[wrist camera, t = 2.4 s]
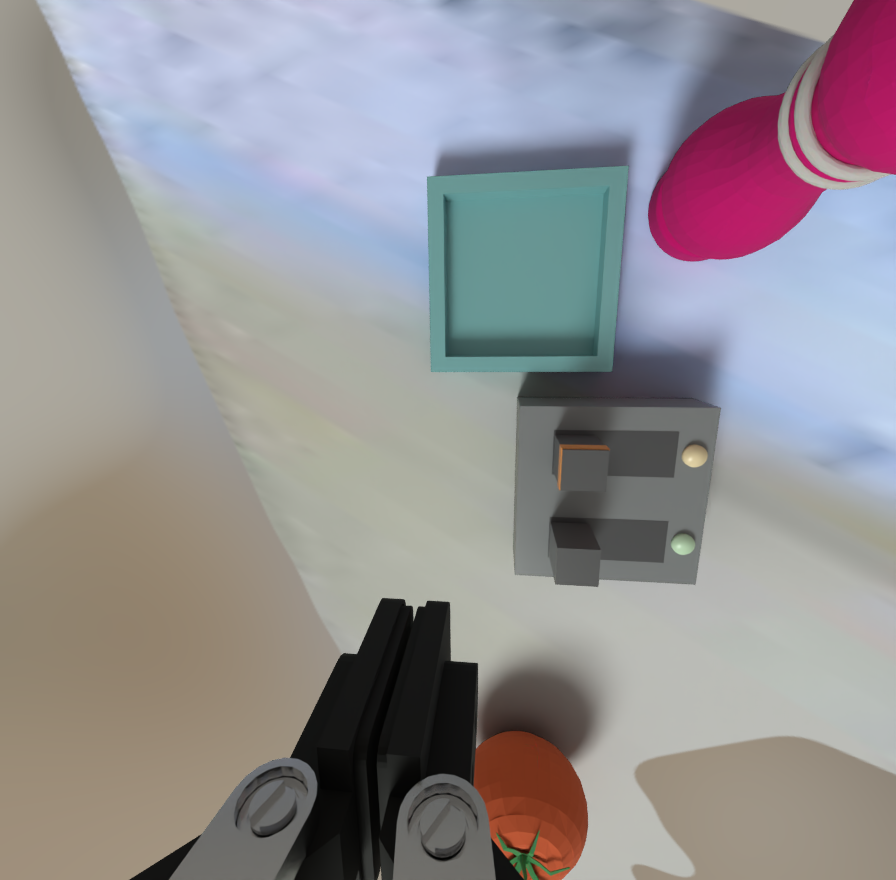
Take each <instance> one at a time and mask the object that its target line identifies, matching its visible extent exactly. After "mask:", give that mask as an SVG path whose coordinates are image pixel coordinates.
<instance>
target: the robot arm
mask: <svg viewBox="0 0 896 880" xmlns="http://www.w3.org/2000/svg"><path fill="white" fill-rule="evenodd" d="M477 706H478V663H468V662H454V661H451V647H450V603H449V602H441V601H427V603H426V606H425V607H420V606H419V607H418V609H417V612H416V616H415V619H414V622H413V607H412V606H406V603H405V600H404V599H389V598H382V599H381V601H380V603H379V605H378V608H377V610H376V612H375V615H374V617H373V619H372V621H371V624H370V626H369V628H368V630H367V633H366V635H365V637H364V640H363V642H362V644H361V646H360V649H359V651H358V653H357V654H346V653H344V654H342V655H341V656H340V658H339V659H338V661H337V663H336V665H335V667H334V669H333V671H332V673H331V675H330V677H329V679H328V681H327V684H326V686H325V688H324V690H323V692H322V694H321V696H320V698H319V700H318V702H317V704H316V706H315V708H314V710H313V712H312V714H311V716H310V718H309V720H308V722H307V724H306V726H305V728H304V731H303V732H302V735H301V737H300V739H299V741H298V743H297V745H296V747H295V749H294V751H293V753H292V755H291V757H290V758H282V759H277V760H272V761H270V762H268V763H266V764H263V765H261V766H259V767H258V768H256V769H255V770H254V771H253V772H251V773H250V774H248V775H247V776H246V777H245V778H244V779H243V780H242V781H241V782H240V784H239V785H238V786H237V787H236V788H235V789H234V791H233V792H232V793H231V795H230V796H229V798H228V799H227V800H226V802H225V803H224V805H223V806H222V807H221V809H220V810H219V811H218V813H217V814H216V816H215V817H214V818H213V820H212V821H211V822H210V824H209V825H208V826H207V828H206V829H205V831H204V832H203V833H202V834H201V835H200V836H198V837H196V838H195V839H193V840H192V841H190V842H189V843H187V844H185V845H184V846H182V847H181V848H179V849H177V850H176V851H174V852H173V853H171V854H170V855H168V856H166V857H165V858H163V859H162V860H160V861H158V862H157V863H155V864H154V865H152V866H150V867H149V868H147V869H146V870H144V871H143V872H141V873H139V874H138V875H136V876H135V877H133V878H131V879H130V880H377V879H378V876H379V872H380V867H381V873H382V874H381V876H382V880H524V879H523V878H522V876H521V875H520V874H519V873H518V871H517V870H516V869H515V868H514V866H513V865H512V864H511V862H510V861H509V860H508V859H507V857H506V856H505V855H504V854H503V852H502V851H501V850H500V849H499V847H498V846H497V845H496V843H495V842H494V841H493V840H492V838H491V835H490V826H489V818H488V813H487V810H486V806H485V802H484V801H483V799H482V797H481V796H480V794H479V792H478V791H477V789H476V788H474V771H475V752H476V733H477Z"/></svg>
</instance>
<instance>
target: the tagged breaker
mask: <svg viewBox="0 0 896 880" xmlns="http://www.w3.org/2000/svg"><path fill="white" fill-rule="evenodd" d="M609 450H610V449H609V448H608V447H607V446H606V445H604V444H603V443H602V442H601V441H600V440H599V439H598V438H597V437H596V436H586V435H555V442H554V462H553V472H554V475H555V477H556V480H557V482H558V483H557V486H558V488H559V490H561V491H594V492H606V487H607V475H608V463H609Z"/></svg>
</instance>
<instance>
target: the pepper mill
mask: <svg viewBox="0 0 896 880" xmlns="http://www.w3.org/2000/svg"><path fill="white" fill-rule="evenodd" d="M891 174H894V175H896V0H854V1H853V3H852V5H851V6H850V8H849V10H848V12H847V13H846V15H845V17H844V19H843V20H842V22H841V24H840V26H839V27H838V29H837V31H836V33H835V34H834V35H833V36H832V37H831V38H830V39H829V40H828V41H827V42H826V43H825V44H823V45H822V46H821V47H820V48H818V49H817V50H816V51H815V52H814V53H813V54H812V55H811V56H810V57H809V58H808V59H807V60H806V61H805V62H804V63H803V65H802V66H801V67H800V68H799V70H798V71H797V73H796V74H795V76H794V77H793V79H792V81H791V83H790V84H789V86H788V88H787V90H786V92H785V93H783V94H780V95H776V96H762V97H756V98H751V99H749V100H746V101H743V102H740V103H738V104H735V105H733V106H731V107H728V108H726V109H724V110H723V111H721V112H719V113H718V114H716V115H714V116H713V117H711V118H710V119H709V120H708V121H706V122H705V123H704V124H703V125H701V126H700V127H699V128H698V129H697V130H695V131H694V132H693V133H692V134H691V135H690V136H689V137H688V138H687V140H686V141H685V142H684V143H683V144H682V145H681V147H680V148H679V150H678V151H677V153H676V154H675V156H674V158H673V159H672V161H671V163H670V166H669V168H668V170H667V171H666V173H665V174H664V175H663V176H662V178H661V179H660V180H659V182H658V183H657V185H656V187H655V189H654V191H653V194H652V197H651V200H650V203H649V210H648V219H649V227H650V231H651V234H652V236H653V238H654V239H655V241H656V243H657V245H658V246H659V247H660V248H661V249H662V250H663V251H664V252H666V253H667V254H668V255H670V256H672V257H674V258H676V259H679V260H684V261H702V260H707V259H732V258H738V257H743V256H745V255H748V254H751V253H753V252H756V251H758V250H760V249H762V248H764V247H766V246H768V245H770V244H771V243H773V242H775V241H777V240H779V239H780V238H781V237H783V236H784V235H785V234H786V233H787V232H789V231H790V230H791V229H792V228H793V227H794V226H796V225H797V224H798V223H799V222H800V221H801V220H802V219H803V218H804V217H805V216H806V214H807V213H808V212H809V210H810V209H811V208H812V206H813V205H814V204H815V202H816V201H817V199H818V198H819V196H820V195H821V193H822V192H823V191H825V190H826V189H834V190H841V189H850V188H856V187H860V186H863V185H866V184H869V183H872V182H874V181H876V180H878V179H880V178H882V177H885V176H888V175H891Z"/></svg>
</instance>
